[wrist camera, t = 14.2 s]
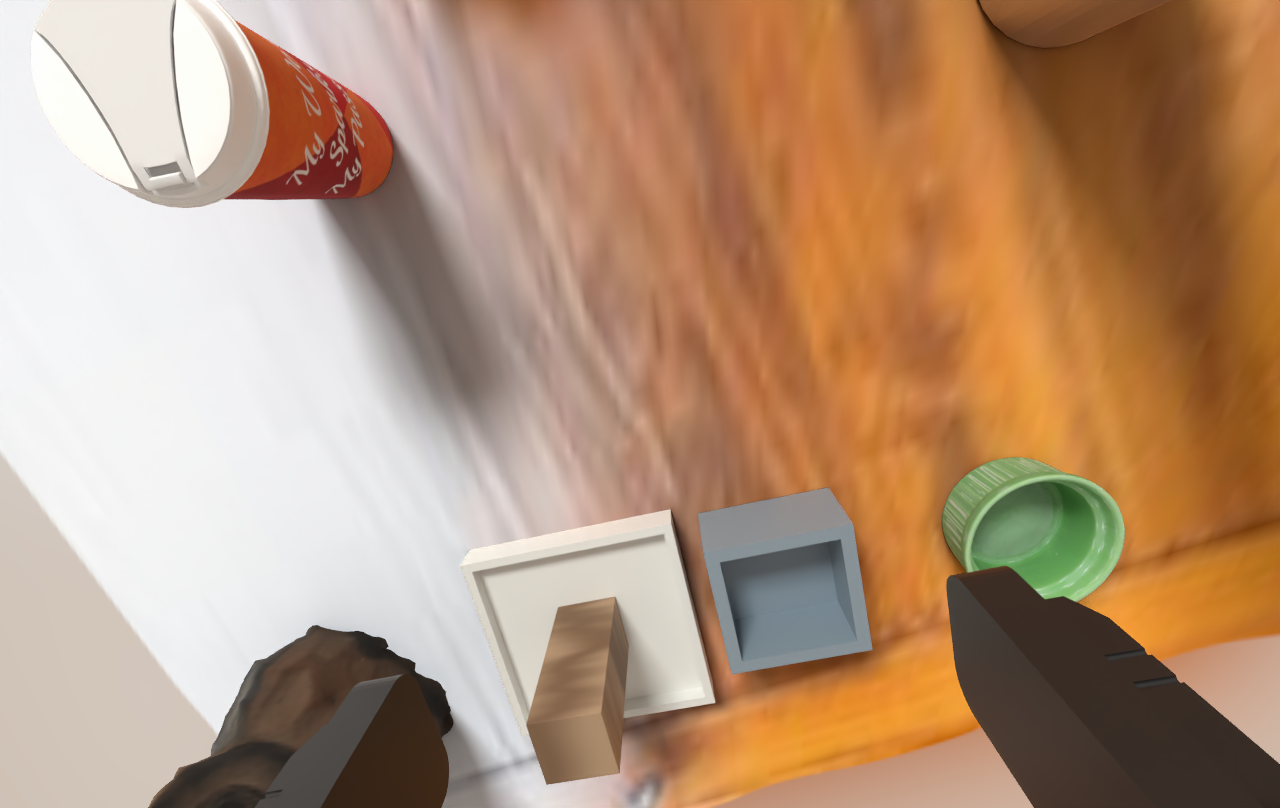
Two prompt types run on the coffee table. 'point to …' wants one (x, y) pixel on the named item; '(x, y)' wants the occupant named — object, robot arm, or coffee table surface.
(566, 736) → the walnut peg
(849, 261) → the coffee table surface
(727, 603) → the blue-grey open box
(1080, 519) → the ramekin
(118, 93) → the paper cup
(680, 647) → the cream tray
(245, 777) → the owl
